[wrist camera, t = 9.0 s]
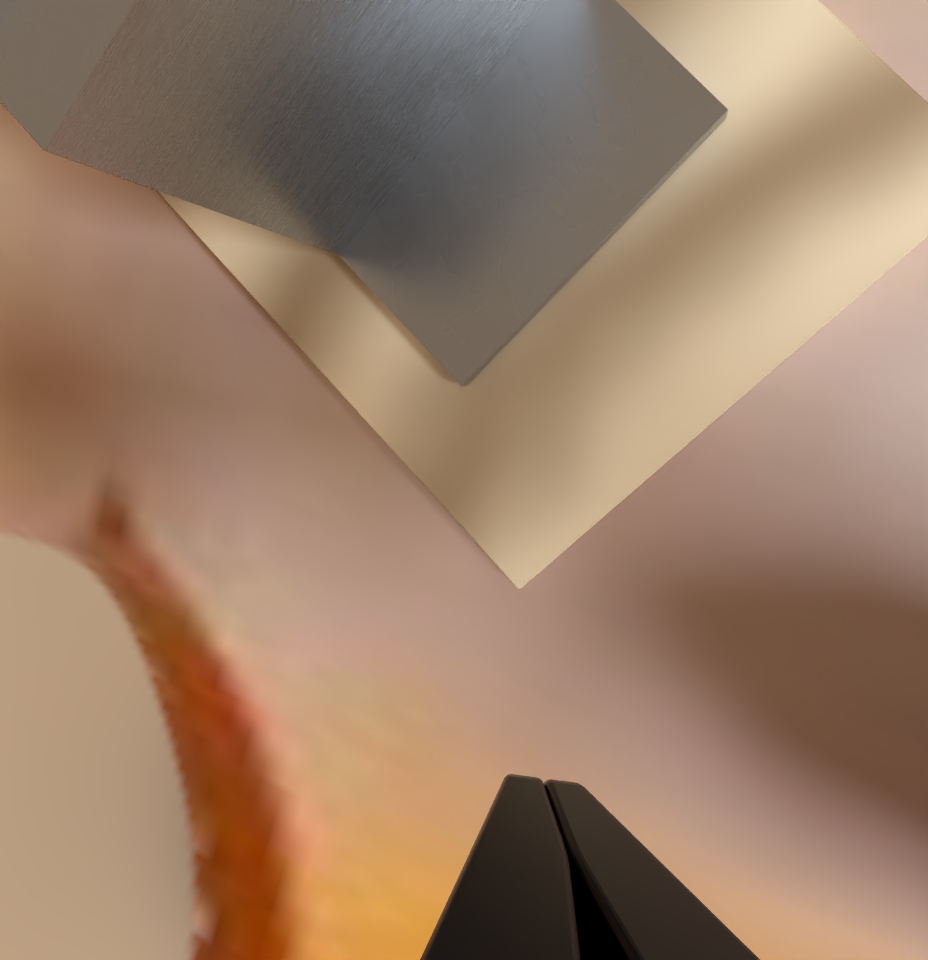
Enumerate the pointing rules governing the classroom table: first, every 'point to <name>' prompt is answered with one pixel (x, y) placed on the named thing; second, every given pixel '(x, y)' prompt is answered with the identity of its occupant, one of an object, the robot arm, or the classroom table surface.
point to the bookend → (376, 133)
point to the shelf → (636, 285)
